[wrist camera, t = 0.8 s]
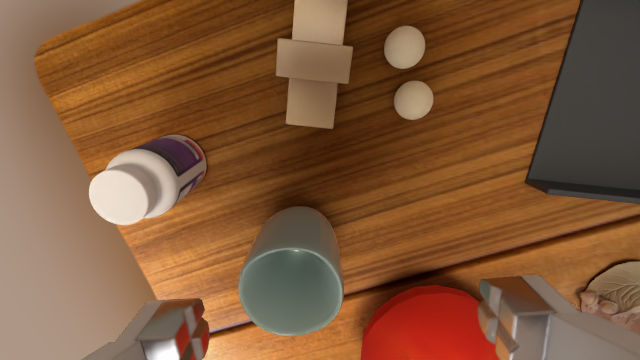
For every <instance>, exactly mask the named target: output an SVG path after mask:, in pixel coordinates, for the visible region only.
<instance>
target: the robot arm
mask: <svg viewBox="0 0 640 360" xmlns="http://www.w3.org/2000/svg"><path fill="white" fill-rule="evenodd" d="M479 293H480V294H481V296H482V297H483V299H482V300H481V301H480V302H479V304H478V310H477V315H478V320H479V325H480V328H481V330H482V332H483V334H484V336H485V337H486V339H487V340H488V341H490V342H491V343H493V344H495V345H496V347H495V354H496V355H497V357H498V358H499V360H640V334H638V333H635V332H633V331H630V330H628V329H626V328H623V327H621V326H619V325H616V324H614V323H612V322H609V321H607V320H604V319H602V318H600V317H597V316H595V315H593V314H590V313H588V312H579V311H578V310H577V309H576V308H575V307H574V306H573V305H571V304H570V303H569V302H568V301H567V300H566V299H565V298H564V297H563V296H562V295H561V294H559V293H558V292H557V291H556V290H555V289H554V288H553V287H552V286H551V285H550V284H549V283H547V282H546V281H545V280H544V279H543V278H542V277H541V276H539V275H536V274H531V275H520V276H516V277H503V278H490V279H481V281H480V283H479ZM204 310H205V309H204V306H203V302H202V300H201V299H199V298H194V299H172V300H156V301H149V302H147V303H145V304H144V306H143V307H142V308H141V309H140V311H139V312H138V313H137V314H136V316H135V317H134V318H133V320H132V321H131V322H130V323H129V325H128V326H127V327H126V328H125V330H124V331H123V332H122V334H121V335H120V336H119V337H118V339H117V340H116V341H115V342H110V343H108V344H106V345H104V346H103V347H101V348H99V349H98V350H96V351H95V352H93V353H91V354H90V355H88V356H87V357H85V358H83V359H82V360H202V359H203V358H204V357H205V354H206V352H207V349H208V344H209V338H210V336H209V326H208V322H207V321H205V320H204V319H203V318H202V315H203V313H204Z"/></svg>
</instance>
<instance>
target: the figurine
mask: <svg viewBox="0 0 640 360" xmlns="http://www.w3.org/2000/svg"><path fill="white" fill-rule="evenodd" d="M580 296H581V299H582V303H581V310H582V312H588V313H590V314H593V315H595V316H597V317H600V318H602V319H604V320H607V321H609V322H612V323H614V324H616V325H619V326H621V327H623V328H626V329H628V330H630V331H633V332H635V333H638V334H640V262H639V261H636V262H627V263H622V264H619V265H616V266H614V267H612V268H611V269H609V270H607V271H606V272H604V273H602V274H601V275H599V276H598V277H596V278H595V279H594V280H593V281H592V282H591V283H590V284H589V286H588V288H587V289H586V290H585V292H581V293H580Z"/></svg>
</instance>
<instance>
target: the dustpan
mask: <svg viewBox="0 0 640 360" xmlns="http://www.w3.org/2000/svg"><path fill="white" fill-rule="evenodd" d="M525 183H527V184H529V185H531V186H533V187H535V188H537V189H539V190H540V191H542V192H544V193H546V194H550V195H560V196H570V197H579V198H589V199H599V200H608V201H618V202H627V203H637V204H640V0H581V3H580V6H579V10H578V13H577V16H576V19H575V23H574V26H573V29H572V32H571V35H570V39H569V42H568V45H567V48H566V52H565V55H564V58H563V61H562V65H561V68H560V71H559V74H558V78H557V81H556V84H555V87H554V90H553V94H552V97H551V100H550V103H549V107H548V110H547V113H546V116H545V120H544V123H543V126H542V129H541V133H540V136H539V139H538V142H537V145H536V149H535V152H534V155H533V158H532V162H531V165H530V168H529V171H528V175H527V178H526V181H525Z"/></svg>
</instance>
